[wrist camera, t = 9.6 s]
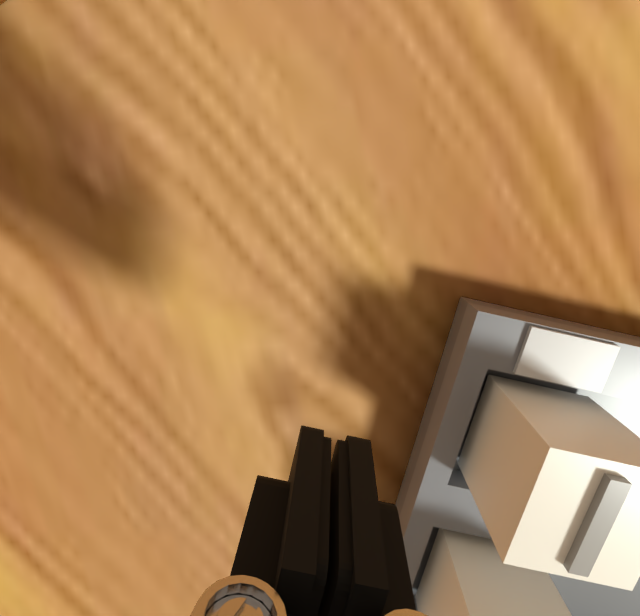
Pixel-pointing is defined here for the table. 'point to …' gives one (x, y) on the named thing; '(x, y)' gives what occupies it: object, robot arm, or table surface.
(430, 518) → the switch bank
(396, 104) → the table surface
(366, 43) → the table surface
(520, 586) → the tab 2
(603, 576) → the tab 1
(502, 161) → the table surface
